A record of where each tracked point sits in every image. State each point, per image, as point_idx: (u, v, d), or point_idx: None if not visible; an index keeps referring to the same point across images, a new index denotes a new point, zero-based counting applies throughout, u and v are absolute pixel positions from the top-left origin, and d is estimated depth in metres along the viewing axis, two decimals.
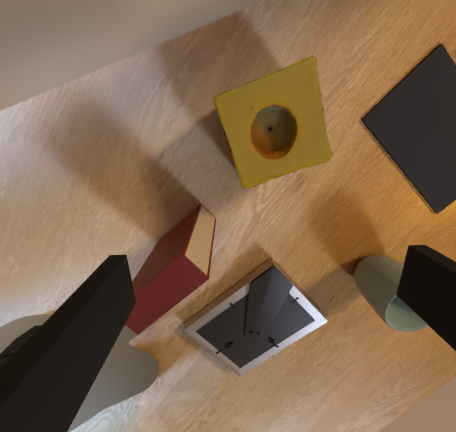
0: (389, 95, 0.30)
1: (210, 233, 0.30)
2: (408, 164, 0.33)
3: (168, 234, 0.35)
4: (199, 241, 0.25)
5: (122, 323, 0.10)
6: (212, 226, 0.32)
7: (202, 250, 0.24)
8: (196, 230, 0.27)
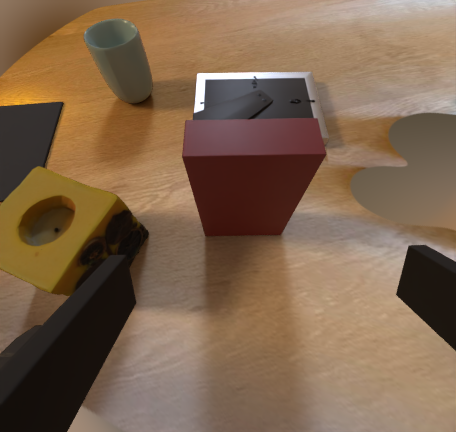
0: (3, 199, 0.33)
1: None
2: (43, 144, 0.37)
3: (257, 231, 0.29)
4: None
5: (122, 323, 0.10)
6: None
7: None
8: None
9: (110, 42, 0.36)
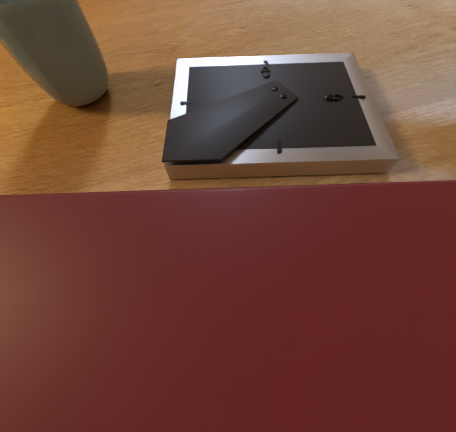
0: None
1: None
2: None
3: None
4: None
5: None
6: None
7: None
8: None
9: None
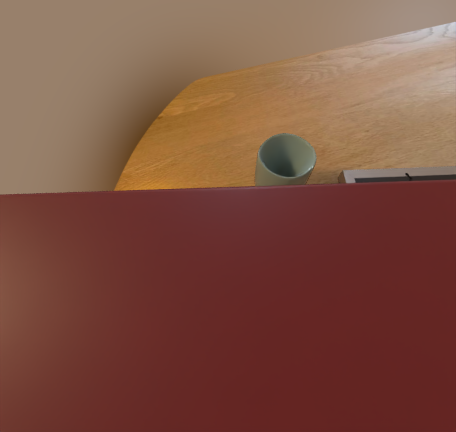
0: None
1: None
2: None
3: None
4: None
5: None
6: None
7: None
8: None
9: (271, 154, 0.34)
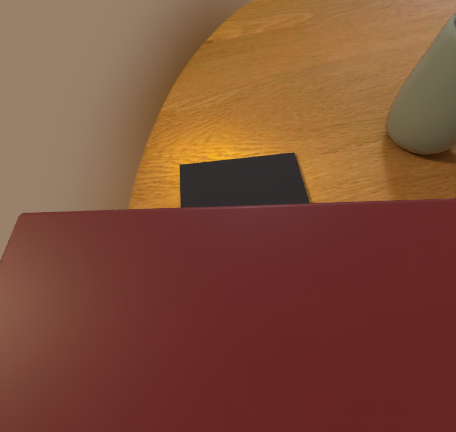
0: None
1: None
2: None
3: None
4: None
5: None
6: None
7: None
8: None
9: None
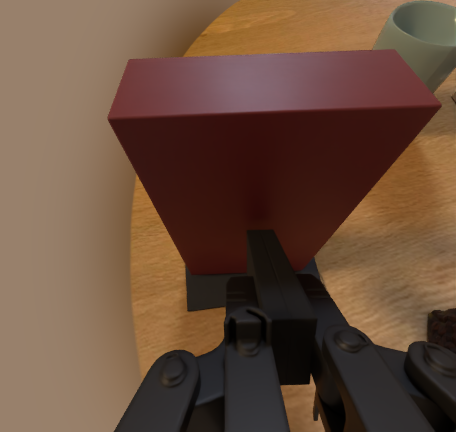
0: None
1: None
2: None
3: None
4: None
5: None
6: None
7: None
8: None
9: None
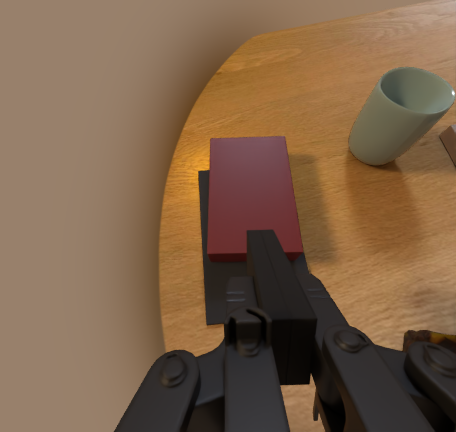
0: None
1: None
2: None
3: None
4: None
5: None
6: None
7: None
8: None
9: None
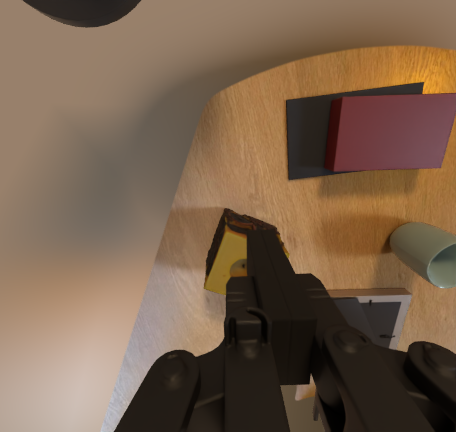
0: (289, 153, 0.37)
1: None
2: None
3: (347, 148, 0.33)
4: None
5: None
6: None
7: None
8: (409, 95, 0.31)
9: None
